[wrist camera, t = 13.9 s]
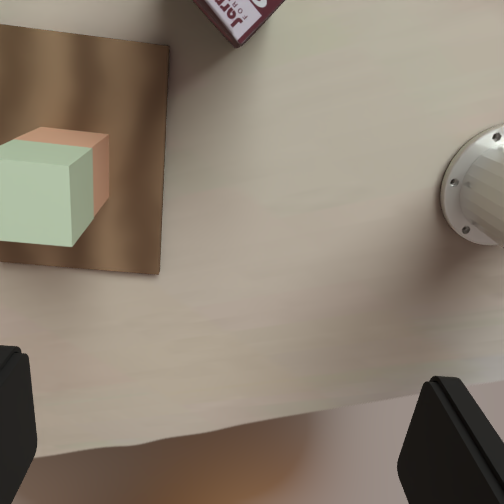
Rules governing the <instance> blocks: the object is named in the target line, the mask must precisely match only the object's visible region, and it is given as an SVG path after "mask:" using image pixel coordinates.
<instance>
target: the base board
mask: <svg viewBox="0 0 504 504" xmlns="http://www.w3.org/2000/svg"><path fill="white" fill-rule="evenodd" d="M168 66H169V46H165V45H157V44H149V43H142V42H134V41H126V40H119V39H111V38H103V37H95V36H88V35H80V34H72V33H64V32H57V31H49V30H41V29H33V28H26V27H18V26H10V25H2V24H0V145H2V144H5V143H7V142H9V141H11V140H13V139H14V138H17V137H19V136H21V135H23V134H26V133H28V132H30V131H32V130H35V129H37V128H39V127H47V128H56V129H66V130H75V131H84V132H93V133H102V134H109V198H108V199H107V201H106V202H105V203H104V205H103V206H102V207H101V208H100V210H99V211H98V212H97V214H96V215H95V216H94V219H93V220H92V222H91V223H90V224H89V226H88V227H87V228H86V230H85V231H84V232H83V233H82V235H81V236H80V237H79V239H78V240H77V241H76V243H75V244H74V245H73V247H66V246H55V245H44V244H32V243H21V242H10V241H0V262H10V263H22V264H35V265H47V266H59V267H71V268H83V269H96V270H108V271H120V272H132V273H145V274H157V275H159V272H160V255H161V231H162V208H163V184H164V161H165V137H166V113H167V90H168Z"/></svg>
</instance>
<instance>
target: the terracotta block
mask: <svg viewBox="0 0 504 504" xmlns="http://www.w3.org/2000/svg"><path fill="white" fill-rule="evenodd" d="M14 139H15V140H24V141H34V142H43V143H52V144H61V145H70V146H79V147H88V148H93V201H94V216H95V215H96V214H97V212H98V211H99V210H100V208H101V207H102V206H103V205H104V203H105V202H106V201H107V199H108V198H109V134H102V133H93V132H84V131H75V130H66V129H56V128H47V127H39V128H37V129H35V130H32V131H30V132H28V133H26V134H23V135H21V136H19V137H17V138H14ZM14 139H13V140H14Z"/></svg>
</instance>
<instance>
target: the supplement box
mask: <svg viewBox="0 0 504 504" xmlns="http://www.w3.org/2000/svg"><path fill="white" fill-rule="evenodd" d="M284 1H285V0H193V2H194V3H195V4H196V5H197V6H198V7H199V9H201V11H202V12H203V13H204V14H205V15H206V16H207V18H208V19H209V20H210V21H211V22H212V23H213V24H214V25H215V27H216V28H217V29H218V30H219V31H220V32H221V33H222V35H223V36H224V37H225V38H226V39H227V40H228V41H229V42H230V43H231V45H232V46H233V47H234V48H238V47H240V46H242V45H243V44H244V43H245V42H246V41H247V40H248V39H249V38H250V37H251V36H252V35H253V34H254V33H255V32H256V31H257V30H258V29H259V28H260V27H261V26H262V25H263V24H264V23H265V22H266V20H267V19H268V18H269V17H270V16H271V15H272V14H273V13H274V12H275V11H276V10H277V9H278V8H279V6H280V5H281V4H282V3H283V2H284Z"/></svg>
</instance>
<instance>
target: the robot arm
mask: <svg viewBox="0 0 504 504" xmlns="http://www.w3.org/2000/svg"><path fill="white" fill-rule="evenodd" d="M493 135H494V136H493ZM492 137H493V138H492ZM452 179H453V181H452V182H451V180H452ZM440 197H441V207H442V211H443V215H444V217H445V219H446V220H447V222H448V224H449V225H450V226H451V227H452V229H453V230H454V231H455V232H456V233H458V234H459V235H460V236H461V237H463V238H465V239H467V240H468V241H470V242H473V243H476V244H480V245H489V246H493V245H500V246H501V247H503V248H504V124H501V125H498V126H494V127H492V128H489V129H487V130H485V131H483V132H481V133H480V134H478V135H477V136H475V137H474V138H472V139H471V140H470V141H468V142H467V143H466V144H465V145H464V146H463V147H462V148H461V149H460V150H459V152H458V153H457V154H456V155H455V157H454V158H453V159H452V161H451V163H450V165H449V166H448V168H447V170H446V173H445V175H444V178H443V181H442V186H441V193H440ZM36 448H37V433H36V423H35V413H34V404H33V394H32V384H31V374H30V365H29V357H28V355H27V354H23V353H21V349H20V348H19V347H17V346H3V345H0V504H11V503H12V501H13V499H14V497H15V495H16V493H17V491H18V489H19V487H20V485H21V483H22V481H23V479H24V477H25V475H26V473H27V470H28V468H29V466H30V464H31V462H32V460H33V458H34V456H35V453H36ZM397 471H398V476H399V479H400V482H401V484H402V487H403V489H404V492H405V495H406V497H407V500H408V502H409V504H504V443H503V442H502V440H501V439H500V437H499V435H498V434H497V432H496V431H495V430H494V428H493V427H492V425H491V424H490V422H489V421H488V419H487V418H486V416H485V415H484V413H483V412H482V410H481V409H480V407H479V406H478V404H477V403H476V402H475V400H474V399H473V397H472V396H471V394H470V393H469V391H468V390H467V388H466V387H465V385H464V384H463V382H462V381H461V380H460V379H459V378H456V377H442V376H433V377H432V378H431V379H430V381H429V382H425V383H424V384H423V386H422V389H421V392H420V395H419V398H418V401H417V404H416V407H415V410H414V413H413V416H412V419H411V422H410V425H409V428H408V431H407V434H406V437H405V440H404V443H403V447H402V449H401V452H400V455H399V458H398V462H397Z"/></svg>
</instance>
